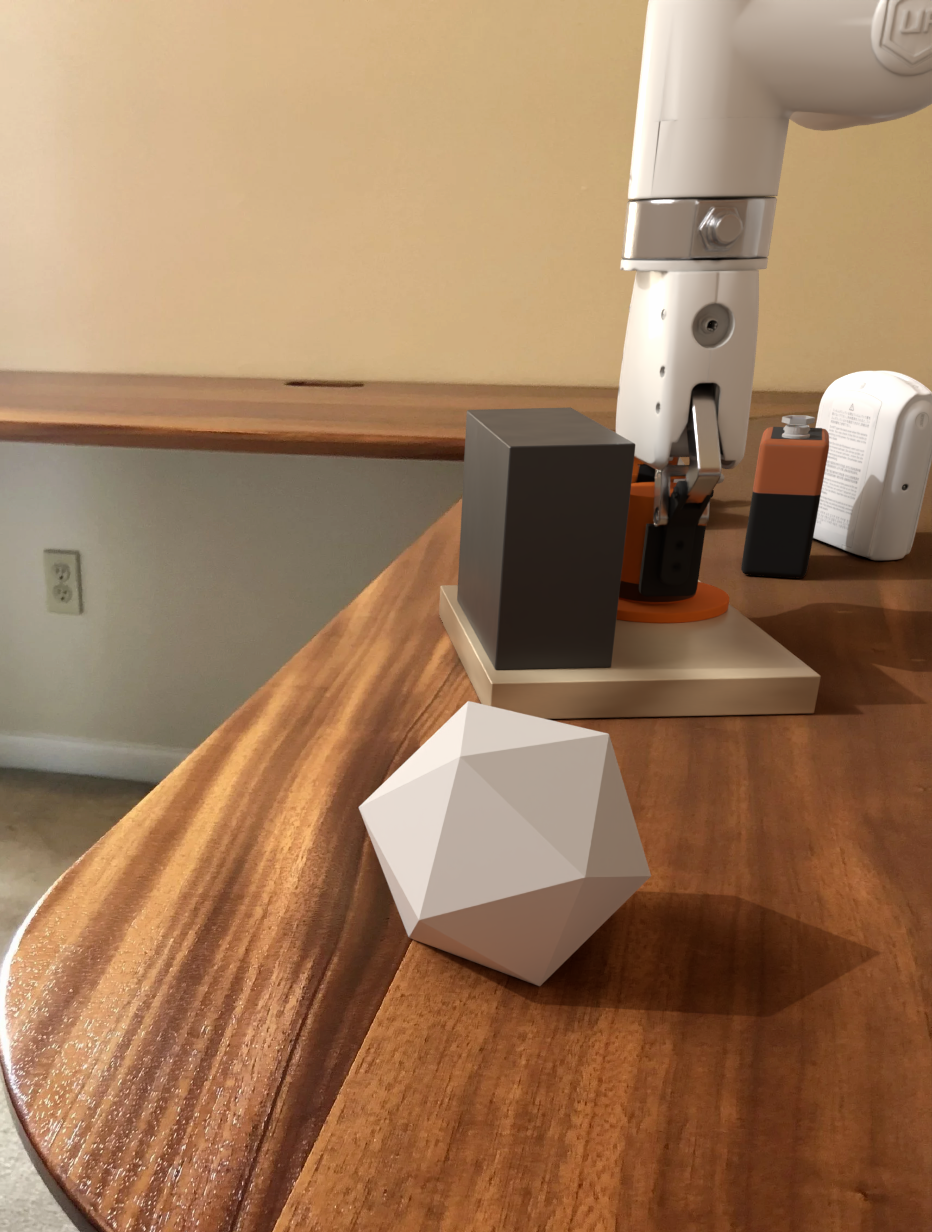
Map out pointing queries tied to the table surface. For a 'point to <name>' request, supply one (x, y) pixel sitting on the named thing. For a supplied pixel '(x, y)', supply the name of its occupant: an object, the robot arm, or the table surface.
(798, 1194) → the table surface
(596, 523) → the tall dark grey box
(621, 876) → the die
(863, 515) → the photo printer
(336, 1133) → the table surface
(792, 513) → the battery
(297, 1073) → the table surface
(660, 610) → the hat
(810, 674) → the wooden board
